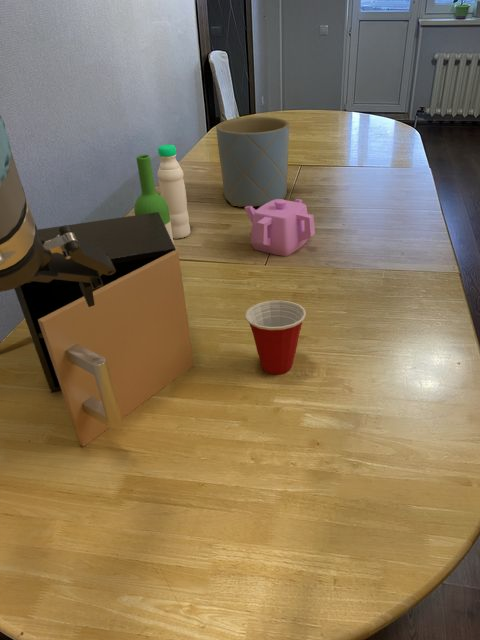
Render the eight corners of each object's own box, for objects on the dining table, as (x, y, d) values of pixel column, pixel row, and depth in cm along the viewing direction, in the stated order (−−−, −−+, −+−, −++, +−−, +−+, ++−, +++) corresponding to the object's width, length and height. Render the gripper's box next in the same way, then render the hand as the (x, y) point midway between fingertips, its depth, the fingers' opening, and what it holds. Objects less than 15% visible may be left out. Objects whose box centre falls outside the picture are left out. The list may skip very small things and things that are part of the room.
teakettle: (258, 261, 136) (256, 215, 128) (244, 236, 149) (242, 193, 142) (320, 252, 139) (321, 207, 131) (300, 228, 152) (301, 187, 145)
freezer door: (221, 378, 96) (210, 261, 82) (112, 466, 79) (74, 338, 65) (190, 363, 100) (174, 250, 86) (79, 444, 83) (37, 319, 69)
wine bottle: (173, 271, 132) (155, 149, 115) (183, 283, 127) (166, 157, 109) (143, 278, 130) (120, 154, 112) (152, 291, 124) (129, 163, 107)
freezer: (191, 362, 100) (175, 248, 86) (51, 393, 94) (9, 275, 80) (174, 317, 114) (158, 211, 100) (51, 340, 108) (16, 232, 94)
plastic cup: (296, 345, 104) (296, 293, 97) (312, 377, 95) (313, 323, 88) (243, 353, 102) (240, 300, 95) (254, 387, 93) (251, 332, 86)
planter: (291, 209, 165) (291, 131, 151) (220, 212, 165) (213, 134, 152) (287, 186, 184) (287, 115, 170) (223, 188, 184) (218, 118, 170)
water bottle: (195, 234, 151) (185, 145, 137) (176, 241, 147) (164, 150, 133) (180, 228, 155) (168, 141, 141) (161, 235, 151) (147, 146, 137)
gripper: (-175, 330, 37) (-70, 386, 57) (150, 226, 45) (143, 307, 65) (-209, 240, 38) (-94, 326, 58) (116, 154, 46) (119, 255, 66)
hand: (31, 316), depth 62 cm, fingers open, 13 cm apart
